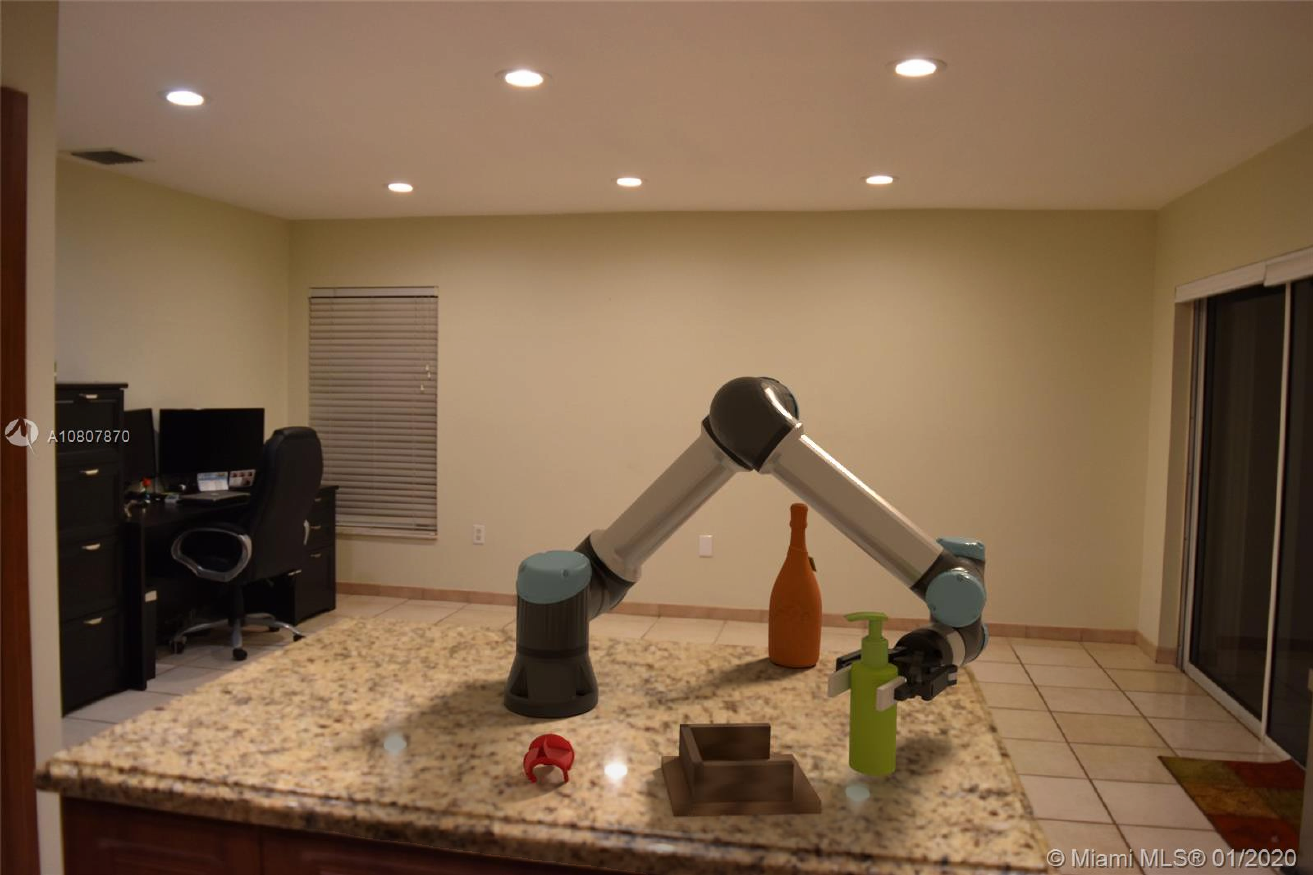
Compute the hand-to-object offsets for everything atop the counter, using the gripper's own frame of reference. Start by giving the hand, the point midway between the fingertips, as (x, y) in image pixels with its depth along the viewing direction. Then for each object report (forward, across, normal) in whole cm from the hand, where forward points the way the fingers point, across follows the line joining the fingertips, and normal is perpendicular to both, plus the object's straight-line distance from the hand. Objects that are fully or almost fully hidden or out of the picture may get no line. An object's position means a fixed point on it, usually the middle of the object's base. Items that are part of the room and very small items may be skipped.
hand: (854, 693), depth 112 cm
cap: (+20, +32, -15) cm, 41 cm away
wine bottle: (-45, +35, -14) cm, 59 cm away
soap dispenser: (-5, 0, -11) cm, 12 cm away
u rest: (+7, +12, -14) cm, 20 cm away
